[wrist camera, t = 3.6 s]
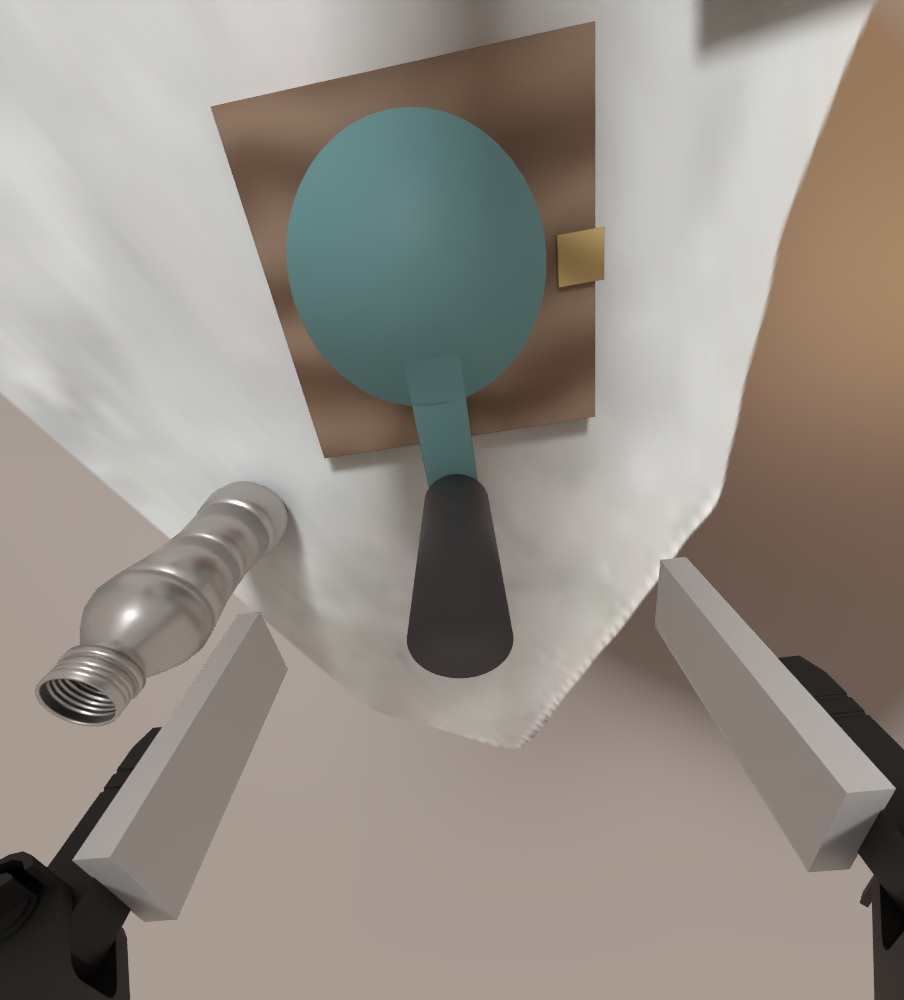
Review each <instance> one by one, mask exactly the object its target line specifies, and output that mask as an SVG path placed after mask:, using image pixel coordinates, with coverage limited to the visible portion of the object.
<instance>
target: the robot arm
mask: <svg viewBox="0 0 904 1000" xmlns="http://www.w3.org/2000/svg"><path fill="white" fill-rule="evenodd" d="M655 627H656V629H657V630H658V632H659V633H660V635H661V637H662V638H663V640H664V641H665V643H666V644H667V646H668V648H669V649H670V651H671V653H672V654H673V655H674V657H675V659H676V661H677V662H678V664H679V665H680V667H681V669H682V670H683V672H684V673H685V675H686V677H687V678H688V680H689V682H690V683H691V685H692V686H693V688H694V689H695V691H696V693H697V694H698V696H699V698H700V699H701V701H702V702H703V704H704V706H705V707H706V709H707V711H708V712H709V714H710V715H711V717H712V719H713V720H714V722H715V723H716V725H717V726H718V728H719V730H720V731H721V733H722V735H723V736H724V738H725V739H726V741H727V743H728V744H729V746H730V747H731V749H732V751H733V752H734V754H735V755H736V757H737V759H738V760H739V762H740V764H741V765H742V767H743V768H744V770H745V772H746V773H747V775H748V776H749V778H750V779H751V781H752V783H753V784H754V786H755V788H756V789H757V791H758V792H759V794H760V796H761V797H762V799H763V800H764V802H765V804H766V805H767V807H768V808H769V810H770V812H771V813H772V815H773V817H774V818H775V820H776V821H777V823H778V824H779V826H780V827H781V829H782V831H783V833H784V834H785V836H786V837H787V839H788V840H789V842H790V843H791V845H792V847H793V849H794V850H795V852H796V853H797V855H798V857H799V858H800V860H801V861H802V863H803V865H804V866H805V868H806V870H807V871H808V872H817V871H831V870H844V869H850V867H851V866H852V864H853V862H854V860H855V859H856V857H857V855H858V854H859V855H860V856H861V857H862V859H863V860H864V862H865V863H866V864H867V866H868V867H869V869H870V870H871V871H872V873H873V874H874V875H873V877H872V879H871V880H870V882H869V883H868V885H867V886H866V888H865V890H864V891H863V893H862V897H861V900H860V903H861V904H863V905H864V906H866V907H869V905H870V904H871V902H872V917H873V918H872V921H873V956H874V957H873V959H874V998H875V1000H904V749H903V748H901V746H899V744H897V743H896V742H895V741H894V740H893V739H892V738H891V737H890V736H889V735H888V734H887V733H886V732H885V731H884V730H883V729H882V728H881V727H880V726H879V725H878V724H877V723H876V722H875V721H874V720H873V719H872V718H871V717H870V716H869V715H866V714H865V712H864V710H863V709H862V708H861V707H860V706H859V705H858V704H857V703H856V702H855V701H854V700H853V699H852V698H851V697H848V696H847V693H846V692H845V691H844V690H843V689H842V688H841V687H840V686H839V685H838V684H837V683H836V682H835V681H834V680H833V679H832V678H831V677H830V676H829V675H828V674H827V673H826V672H825V671H823V670H822V669H820V668H818V667H817V666H815V665H813V664H812V663H810V662H809V661H807V660H806V659H804V658H802V657H801V656H791V657H783V658H777V657H776V656H775V655H774V654H773V653H772V652H771V650H770V649H769V648H768V647H767V646H766V645H765V644H764V643H763V642H762V640H761V639H760V638H759V637H758V636H757V635H756V634H755V633H754V632H753V631H752V630H751V629H750V627H749V626H748V625H747V624H746V623H745V622H744V621H743V620H742V618H741V617H740V616H739V615H738V614H737V613H736V612H735V611H734V610H733V609H732V607H730V605H729V604H728V603H727V602H726V601H725V600H724V599H723V598H722V596H721V595H720V594H719V593H718V592H717V591H716V590H715V589H714V588H713V587H712V586H711V584H710V583H709V582H708V581H707V580H706V579H705V578H704V577H703V576H702V574H701V573H700V572H699V571H698V570H697V569H696V568H695V567H694V566H693V564H691V562H690V561H689V560H688V559H687V558H686V557H681V558H673V559H665V560H660V571H659V583H658V595H657V607H656V619H655ZM287 670H288V669H287V667H286V665H285V663H284V661H283V659H282V657H281V655H280V652H279V651H278V648H277V646H276V644H275V642H274V640H273V638H272V636H271V634H270V632H269V630H268V628H267V626H266V623H265V621H264V619H263V617H262V615H261V613H260V612H254V613H247V614H239V615H238V616H237V617H236V618H235V620H234V621H233V623H232V625H231V626H230V627H229V629H228V630H227V632H226V633H225V635H224V636H223V638H222V639H221V641H220V643H219V644H218V645H217V647H216V648H215V650H214V651H213V653H212V654H211V656H210V657H209V658H208V660H207V661H206V663H205V664H204V666H203V667H202V669H201V670H200V672H199V673H198V675H197V676H196V678H195V679H194V681H193V682H192V684H191V686H190V687H189V688H188V690H187V691H186V693H185V694H184V695H183V697H182V699H181V700H180V702H179V703H178V705H177V706H176V707H175V709H174V710H173V712H172V713H171V715H170V716H169V718H168V719H167V721H166V722H165V724H164V725H163V727H158V728H152V730H151V731H149V732H148V733H147V734H146V735H145V736H144V737H143V738H142V739H141V740H140V741H139V742H138V743H137V744H136V745H135V746H134V747H133V748H132V749H131V750H130V752H129V753H128V755H127V756H126V758H125V759H124V761H123V762H122V763H121V765H120V766H119V767H118V769H117V773H116V774H114V775H113V776H112V777H111V779H110V780H109V782H108V783H107V784H106V786H105V787H104V791H103V792H102V793H100V794H99V796H98V797H97V799H96V800H95V801H94V803H93V804H92V805H91V807H90V808H89V810H88V811H87V813H86V814H85V815H84V817H83V818H82V819H81V821H80V822H79V824H78V825H77V827H76V828H75V830H74V831H73V832H72V834H71V835H70V836H69V838H68V839H67V841H66V842H65V844H64V845H63V846H62V848H61V849H60V850H59V852H58V853H57V855H56V856H55V857H54V859H53V860H52V862H51V863H50V864H49V866H48V867H46V866H44V865H43V864H42V863H41V862H39V861H38V860H37V859H36V858H34V857H33V856H32V855H30V854H28V853H25V852H19V853H14V854H10V855H8V856H6V857H4V858H2V859H0V1000H130V991H129V970H128V952H127V951H128V950H127V937H126V934H125V931H124V929H123V928H122V925H123V923H124V921H125V920H126V918H127V916H128V914H129V912H130V910H131V911H132V912H133V913H135V914H136V915H137V916H138V917H139V918H140V919H142V920H143V921H144V922H147V921H148V922H149V921H162V920H176V919H177V918H178V916H179V914H180V911H181V909H182V907H183V905H184V903H185V900H186V898H187V895H188V893H189V891H190V889H191V887H192V884H193V882H194V880H195V878H196V875H197V873H198V871H199V869H200V866H201V864H202V862H203V859H204V857H205V855H206V853H207V850H208V848H209V846H210V844H211V842H212V839H213V837H214V834H215V832H216V830H217V828H218V826H219V823H220V821H221V819H222V816H223V814H224V812H225V810H226V808H227V805H228V803H229V801H230V799H231V796H232V794H233V792H234V789H235V787H236V785H237V783H238V780H239V778H240V776H241V773H242V771H243V769H244V767H245V765H246V762H247V760H248V758H249V756H250V753H251V751H252V749H253V746H254V744H255V742H256V740H257V737H258V735H259V733H260V731H261V728H262V726H263V724H264V722H265V719H266V717H267V715H268V712H269V710H270V708H271V706H272V703H273V701H274V699H275V697H276V694H277V692H278V690H279V688H280V685H281V683H282V681H283V679H284V676H285V674H286V672H287Z"/></svg>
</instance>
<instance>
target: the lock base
mask: <svg viewBox="0 0 904 1000" xmlns="http://www.w3.org/2000/svg"><path fill="white" fill-rule="evenodd" d="M401 107H421V108H430V109H434V110H439V111H443V112H447V113H449V114H452V115H454V116H457V117H459V118H462V119H464V120H466V121H468V122H469V123H471V124H473V125H474V126H476V127H477V128H479V129H481V130H482V131H483V132H485V133H486V134H487V135H488V136H489V137H491V138H492V139H493V140H494V141H495V142H497V143H498V144H499V145H500V146H501V148H502V149H503V150H504V151H505V152H506V153H507V154H508V155H509V157H510V158H511V159H512V160H513V162H514V163H515V165H516V166H517V168H518V169H519V171H520V172H521V174H522V175H523V176H524V178H525V180H526V182H527V184H528V186H529V188H530V190H531V192H532V194H533V197H534V200H535V203H536V205H537V208H538V211H539V214H540V218H541V222H542V227H543V231H544V237H545V247H546V279H545V287H544V294H543V298H542V302H541V306H540V310H539V313H538V316H537V319H536V322H535V324H534V327H533V329H532V331H531V333H530V335H529V337H528V339H527V341H526V343H525V345H524V346H523V348H522V349H521V351H520V352H519V354H518V355H517V357H516V358H515V359H514V360H513V362H512V363H511V364H510V365H509V366H508V367H507V369H506V370H505V371H504V372H503V373H501V374H500V375H499V376H498V377H497V378H496V379H495V380H494V381H492V382H491V383H490V384H488V385H487V386H485V387H484V388H482V389H481V390H479V391H477V392H475V393H473V394H472V395H470V396H468V397H466V403H467V410H468V417H469V424H470V431H471V436H473V435H479V434H486V433H492V432H499V431H505V430H511V429H518V428H524V427H531V426H537V425H544V424H550V423H557V422H563V421H570V420H576V419H583V418H589V417H595V281H598V280H603V279H604V227H599V228H595V21H594V22H589V23H585V24H580V25H576V26H571V27H567V28H562V29H558V30H553V31H549V32H544V33H540V34H535V35H531V36H526V37H522V38H517V39H513V40H508V41H504V42H499V43H495V44H490V45H486V46H481V47H477V48H472V49H468V50H463V51H459V52H454V53H450V54H445V55H441V56H436V57H432V58H427V59H423V60H418V61H414V62H409V63H405V64H400V65H396V66H391V67H387V68H382V69H378V70H373V71H369V72H364V73H360V74H355V75H351V76H346V77H342V78H337V79H333V80H328V81H324V82H319V83H315V84H310V85H306V86H301V87H297V88H292V89H288V90H283V91H279V92H274V93H270V94H265V95H261V96H256V97H252V98H247V99H243V100H239V101H234V102H230V103H225V104H221V105H216V106H212V107H211V109H212V112H213V115H214V119H215V122H216V125H217V128H218V131H219V134H220V137H221V140H222V143H223V146H224V149H225V153H226V156H227V159H228V162H229V165H230V168H231V171H232V174H233V177H234V180H235V183H236V186H237V190H238V193H239V196H240V199H241V202H242V205H243V208H244V211H245V214H246V217H247V220H248V223H249V227H250V230H251V233H252V236H253V239H254V242H255V245H256V248H257V251H258V254H259V257H260V260H261V264H262V267H263V270H264V273H265V276H266V279H267V282H268V285H269V288H270V291H271V294H272V298H273V301H274V304H275V307H276V310H277V313H278V316H279V319H280V322H281V325H282V328H283V331H284V335H285V338H286V341H287V344H288V347H289V350H290V353H291V356H292V359H293V362H294V365H295V368H296V372H297V375H298V378H299V381H300V384H301V387H302V390H303V393H304V396H305V399H306V402H307V405H308V409H309V412H310V415H311V418H312V421H313V424H314V427H315V430H316V433H317V436H318V439H319V443H320V446H321V449H322V452H323V455H324V458H330V457H337V456H343V455H349V454H356V453H362V452H369V451H375V450H382V449H388V448H395V447H401V446H408V445H414V444H420V441H419V437H418V432H417V427H416V422H415V417H414V412H413V407H412V406H408V405H402V404H396V403H392V402H389V401H386V400H382V399H380V398H377V397H375V396H373V395H371V394H368V393H366V392H365V391H363V390H361V389H360V388H358V387H356V386H355V385H353V384H352V383H351V382H349V381H348V380H347V379H345V378H344V377H343V376H341V375H340V374H339V373H338V372H337V371H336V370H335V369H334V368H333V367H332V366H331V365H330V364H329V363H328V362H327V361H326V359H325V358H324V357H323V356H322V354H321V353H320V352H319V351H318V349H317V348H316V346H315V345H314V343H313V342H312V340H311V338H310V337H309V335H308V333H307V331H306V329H305V327H304V325H303V323H302V321H301V319H300V317H299V314H298V311H297V309H296V306H295V303H294V300H293V296H292V292H291V288H290V284H289V277H288V269H287V249H286V242H287V233H288V223H289V219H290V214H291V210H292V206H293V202H294V199H295V197H296V194H297V191H298V188H299V186H300V183H301V181H302V180H303V178H304V176H305V174H306V172H307V170H308V168H309V166H310V165H311V164H312V162H313V161H314V159H315V158H316V157H317V155H318V154H319V152H320V151H321V150H322V149H323V148H324V147H325V146H326V145H327V144H328V143H329V142H330V141H331V140H332V139H333V138H334V137H335V136H336V135H337V134H338V133H340V132H341V131H342V130H344V129H345V128H346V127H348V126H349V125H351V124H352V123H354V122H356V121H358V120H360V119H362V118H364V117H366V116H368V115H370V114H374V113H377V112H380V111H383V110H387V109H393V108H401ZM471 438H472V437H471Z"/></svg>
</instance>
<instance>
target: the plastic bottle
mask: <svg viewBox="0 0 904 1000" xmlns="http://www.w3.org/2000/svg"><path fill="white" fill-rule="evenodd" d="M287 524H288V514H287V510H286V508H285V506H284V504H283V502H282V501H281V499H280V498H279V497H278V496H277V495H276V494H275V493H274V492H273V491H272V490H270V489H269V488H267V487H265V486H262V485H259V484H256V483H252V482H235V483H231V484H229V485H227V486H224V487H222V488H220V489H218V490H216V491H215V492H214V493H212V494H211V495H210V497H209V498H208V499H207V500H206V501H205V503H204V504H203V505H202V506H201V508H200V510H199V511H198V513H197V515H196V516H195V517H194V518H193V519H192V520H191V521H190V522H189V523H188V524H187V525H186V526H185V527H184V529H183V530H182V531H181V532H180V533H179V534H178V535H176V536H175V537H174V538H172V539H171V540H170V541H168V542H167V543H166V544H164V545H163V546H162V547H160V548H159V549H158V550H156V551H155V552H154V553H152V554H150V555H149V556H147V557H146V558H144V559H142V560H141V561H139V562H137V563H136V564H134V565H132V566H131V567H129V568H127V569H126V570H124V571H122V572H121V573H119V574H117V575H115V576H114V577H113V578H111V579H110V580H108V581H107V582H106V583H104V584H103V585H101V586H100V587H99V588H98V589H96V591H95V592H94V593H93V595H92V596H91V598H90V599H89V601H88V603H87V604H86V606H85V608H84V611H83V614H82V619H81V626H80V645H79V646H76V647H73V648H71V649H70V650H68V651H67V652H66V653H65V654H64V655H63V656H62V657H61V658H60V659H59V661H58V664H57V665H56V666H55V667H54V668H53V669H52V670H51V671H50V672H49V673H48V674H47V675H46V676H44V677H43V679H42V680H41V681H40V682H39V684H38V685H37V686H36V689H35V694H36V697H37V700H38V701H39V703H40V704H41V705H42V706H43V707H44V708H45V709H46V710H48V711H49V712H50V713H52V714H53V715H55V716H57V717H59V718H61V719H63V720H66V721H68V722H71V723H74V724H79V725H84V726H102V725H106V724H110V723H111V722H113V721H114V720H115V719H116V718H117V717H119V715H120V714H121V713H122V712H123V710H124V709H125V708H126V707H127V705H128V704H129V702H130V701H131V700H132V699H134V698H135V697H136V696H137V695H138V694H139V693H140V692H141V690H142V689H143V687H144V685H145V682H146V678H147V677H150V676H153V675H156V674H159V673H162V672H165V671H167V670H169V669H171V668H173V667H176V666H178V665H180V664H182V663H184V662H185V661H187V660H188V659H190V658H191V657H192V656H193V655H195V654H196V653H197V652H198V651H200V650H201V649H202V648H203V646H204V645H205V643H206V642H207V640H208V638H209V637H210V635H211V633H212V631H213V629H214V627H215V625H216V623H217V621H218V619H219V617H220V615H221V613H222V611H223V609H224V607H225V605H226V603H227V601H228V600H229V598H230V597H231V595H232V594H233V592H234V591H235V589H236V587H237V585H238V584H239V583H240V581H241V580H242V578H243V577H244V575H245V574H246V573H247V572H248V571H249V570H250V569H251V568H252V567H253V566H254V565H255V563H256V562H257V561H258V560H259V559H260V558H261V557H263V556H264V555H266V554H267V553H268V552H270V551H271V550H272V549H273V548H274V547H275V546H276V545H277V544H278V543H279V542H280V541H281V539H282V537H283V536H284V533H285V530H286V527H287Z"/></svg>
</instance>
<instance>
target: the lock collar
mask: <svg viewBox="0 0 904 1000" xmlns="http://www.w3.org/2000/svg"><path fill="white" fill-rule="evenodd" d="M286 249H287V269H288V277H289V284H290V288H291V292H292V296H293V300H294V303H295V306H296V309H297V311H298V314H299V317H300V319H301V321H302V323H303V325H304V327H305V329H306V331H307V333H308V335H309V337H310V338H311V340H312V342H313V343H314V345H315V346H316V348H317V349H318V351H319V352H320V353H321V354H322V356H323V357H324V358H325V359H326V361H327V362H328V363H329V364H330V365H331V366H332V367H333V368H334V369H335V370H336V371H337V372H338V373H339V374H340V375H341V376H343V377H344V378H345V379H347V380H348V381H349V382H351V383H352V384H353V385H355V386H356V387H358V388H360V389H361V390H363V391H365V392H366V393H368V394H371V395H373V396H375V397H377V398H380V399H382V400H386V401H389V402H392V403H396V404H402V405H408V406H412V407H413V412H414V417H415V422H416V427H417V432H418V437H419V441H420V446H421V451H422V456H423V461H424V466H425V471H426V476H427V480H428V485H429V489H428V491H427V493H426V496H425V502H424V509H423V517H422V525H421V533H420V541H419V548H418V556H417V564H416V572H415V579H414V587H413V595H412V603H411V611H410V618H409V626H408V634H407V645H408V649H409V651H410V654H411V655H412V657H413V658H414V660H415V661H416V662H417V663H418V664H419V665H420V666H422V667H423V668H425V669H426V670H428V671H430V672H432V673H434V674H437V675H440V676H444V677H450V678H469V677H475V676H479V675H482V674H485V673H487V672H489V671H491V670H493V669H495V668H496V667H498V666H499V665H500V664H501V663H502V662H503V661H504V660H505V659H506V658H507V656H508V655H509V653H510V651H511V649H512V646H513V632H512V626H511V621H510V615H509V610H508V604H507V599H506V593H505V588H504V582H503V577H502V571H501V566H500V560H499V555H498V549H497V544H496V538H495V533H494V527H493V522H492V516H491V511H490V505H489V500H488V495H487V492H486V490H485V488H484V487H483V486H482V485H481V484H480V483H479V482H478V480H477V473H476V466H475V459H474V452H473V445H472V438H471V431H470V424H469V417H468V410H467V403H466V397H468V396H470V395H472V394H473V393H475V392H477V391H479V390H481V389H482V388H484V387H485V386H487V385H488V384H490V383H491V382H492V381H494V380H495V379H496V378H497V377H498V376H499V375H500V374H501V373H503V372H504V371H505V370H506V369H507V367H508V366H509V365H510V364H511V363H512V362H513V360H514V359H515V358H516V357H517V355H518V354H519V352H520V351H521V349H522V348H523V346H524V345H525V343H526V341H527V339H528V337H529V335H530V333H531V331H532V329H533V327H534V324H535V322H536V319H537V316H538V313H539V310H540V306H541V302H542V298H543V294H544V287H545V279H546V247H545V237H544V231H543V227H542V222H541V218H540V214H539V211H538V208H537V205H536V203H535V200H534V197H533V194H532V192H531V190H530V188H529V186H528V184H527V182H526V180H525V178H524V176H523V175H522V174H521V172H520V171H519V169H518V168H517V166H516V165H515V163H514V162H513V160H512V159H511V158H510V157H509V155H508V154H507V153H506V152H505V151H504V150H503V149H502V148H501V146H500V145H499V144H498V143H497V142H495V141H494V140H493V139H492V138H491V137H489V136H488V135H487V134H486V133H485V132H483V131H482V130H481V129H479V128H477V127H476V126H474V125H473V124H471V123H469V122H468V121H466V120H464V119H462V118H459V117H457V116H454V115H452V114H449V113H447V112H443V111H439V110H434V109H430V108H421V107H401V108H393V109H387V110H383V111H380V112H377V113H374V114H370V115H368V116H366V117H364V118H362V119H360V120H358V121H356V122H354V123H352V124H351V125H349V126H348V127H346V128H345V129H344V130H342V131H341V132H340V133H338V134H337V135H336V136H335V137H334V138H333V139H332V140H331V141H330V142H329V143H328V144H327V145H326V146H325V147H324V148H323V149H322V150H321V151H320V152H319V154H318V155H317V157H316V158H315V159H314V161H313V162H312V164H311V165H310V166H309V168H308V170H307V172H306V174H305V176H304V178H303V180H302V181H301V183H300V186H299V188H298V191H297V194H296V197H295V199H294V202H293V206H292V210H291V214H290V219H289V223H288V233H287V242H286Z"/></svg>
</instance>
